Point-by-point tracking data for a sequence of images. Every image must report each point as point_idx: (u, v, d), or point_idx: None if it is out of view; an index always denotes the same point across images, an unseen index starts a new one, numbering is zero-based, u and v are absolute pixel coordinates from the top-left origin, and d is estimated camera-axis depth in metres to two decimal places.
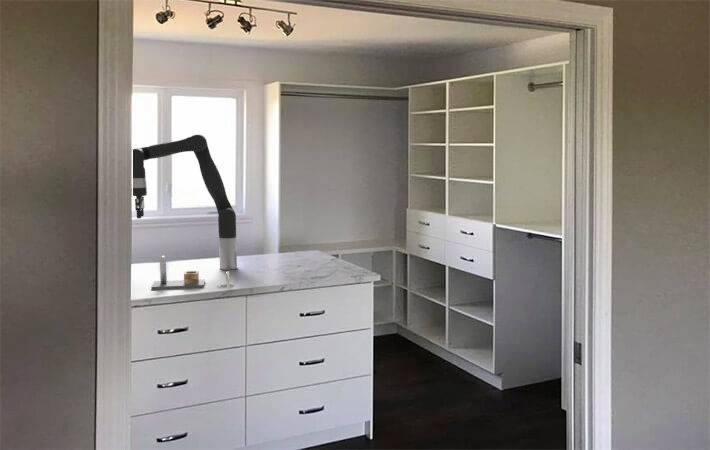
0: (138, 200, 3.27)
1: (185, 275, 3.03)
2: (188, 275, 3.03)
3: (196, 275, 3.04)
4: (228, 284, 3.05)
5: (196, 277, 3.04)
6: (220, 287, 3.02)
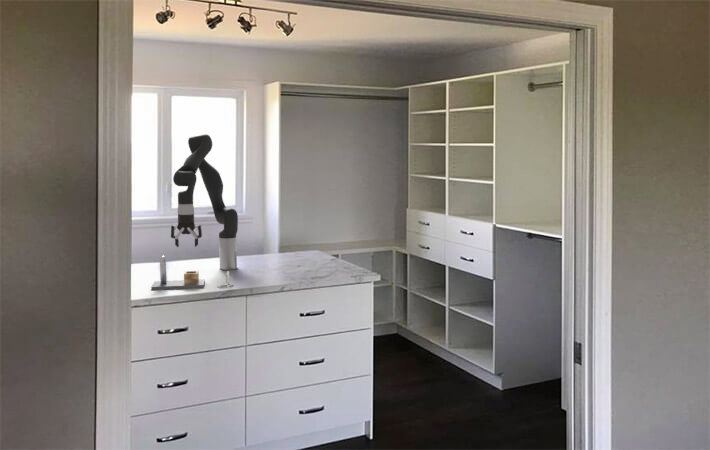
0: (200, 226, 3.06)
1: (185, 275, 3.03)
2: (188, 275, 3.03)
3: (196, 275, 3.04)
4: (228, 284, 3.05)
5: (196, 277, 3.04)
6: (220, 287, 3.02)
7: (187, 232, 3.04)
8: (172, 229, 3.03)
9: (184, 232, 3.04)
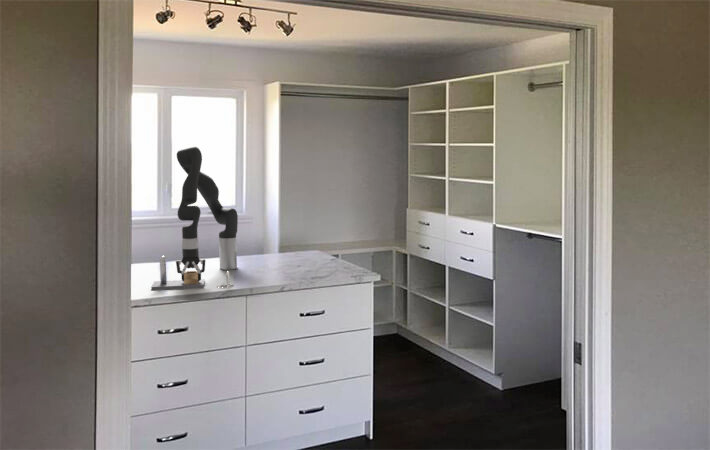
0: None
1: (185, 275, 3.03)
2: (188, 275, 3.03)
3: (196, 275, 3.04)
4: (228, 284, 3.05)
5: (196, 277, 3.04)
6: (220, 287, 3.02)
7: (191, 266, 3.05)
8: (177, 264, 3.04)
9: (189, 266, 3.05)
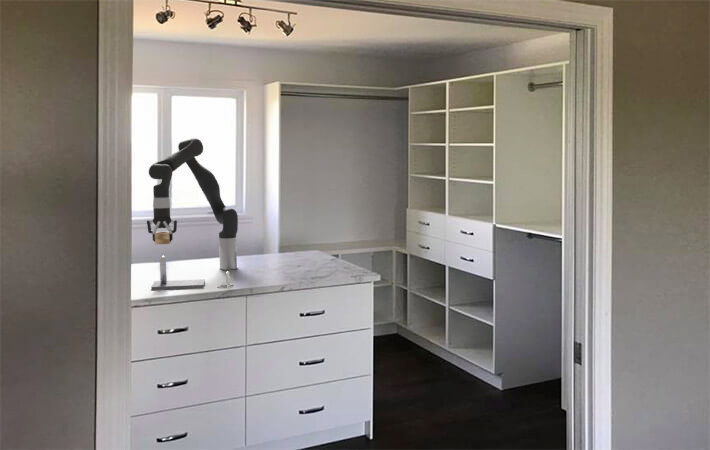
0: None
1: (156, 235, 2.98)
2: (159, 235, 2.98)
3: (167, 235, 2.99)
4: (228, 284, 3.05)
5: (167, 237, 2.99)
6: (220, 287, 3.02)
7: (162, 226, 3.00)
8: (148, 224, 2.98)
9: (160, 226, 3.00)
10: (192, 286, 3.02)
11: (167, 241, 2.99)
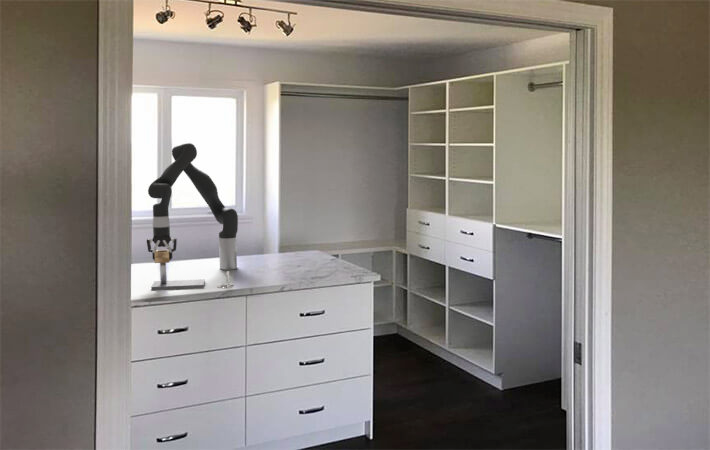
0: (176, 240, 3.04)
1: (156, 254, 2.99)
2: (159, 254, 2.99)
3: (167, 254, 3.00)
4: (228, 284, 3.05)
5: (167, 256, 3.00)
6: (220, 287, 3.02)
7: (162, 244, 3.01)
8: (148, 243, 3.00)
9: (160, 245, 3.01)
10: (192, 286, 3.02)
11: (167, 260, 3.00)
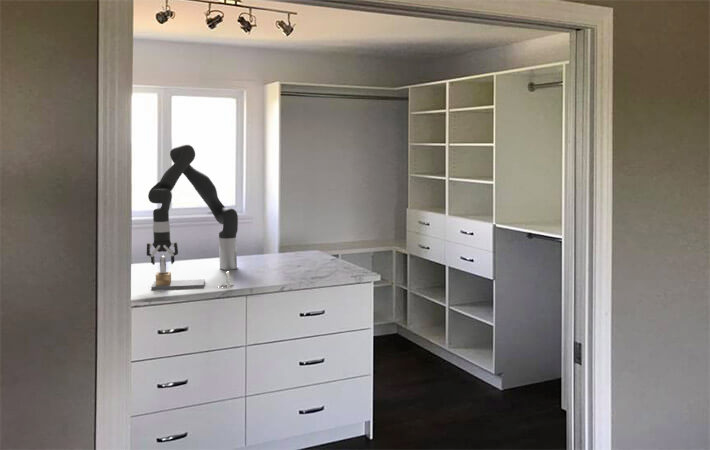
0: None
1: (157, 276, 3.01)
2: (160, 276, 3.01)
3: (168, 276, 3.02)
4: (228, 284, 3.05)
5: (168, 278, 3.02)
6: (220, 287, 3.02)
7: (163, 249, 3.02)
8: (148, 247, 3.00)
9: (160, 250, 3.01)
10: (192, 286, 3.02)
11: (168, 282, 3.02)
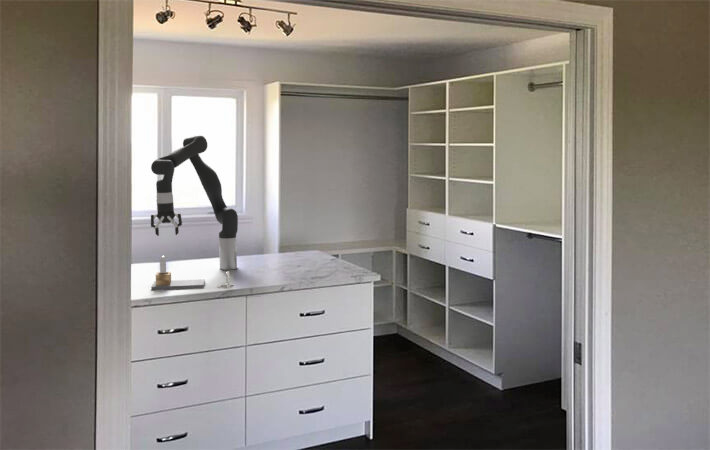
0: (180, 214, 3.06)
1: (157, 276, 3.01)
2: (160, 276, 3.01)
3: (168, 276, 3.02)
4: (228, 284, 3.05)
5: (168, 278, 3.02)
6: (220, 287, 3.02)
7: (167, 221, 3.04)
8: (152, 218, 3.02)
9: (164, 221, 3.03)
10: (192, 286, 3.02)
11: (168, 282, 3.02)
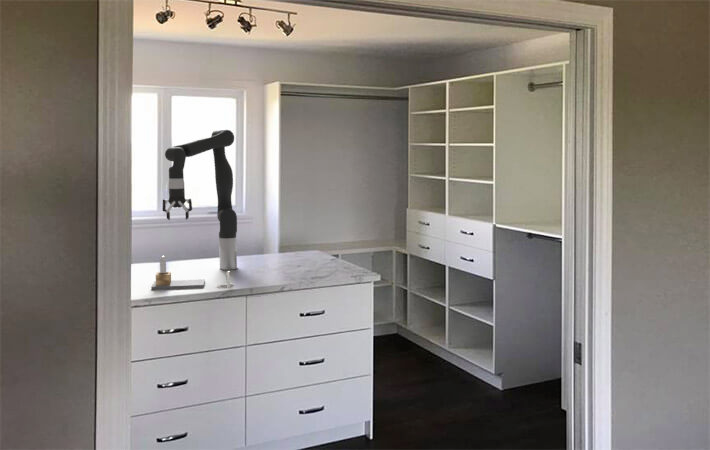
0: None
1: (157, 276, 3.01)
2: (160, 276, 3.01)
3: (168, 276, 3.02)
4: (228, 284, 3.05)
5: (168, 278, 3.02)
6: (220, 287, 3.02)
7: (178, 205, 3.18)
8: (163, 203, 3.16)
9: (175, 205, 3.17)
10: (192, 286, 3.02)
11: (168, 282, 3.02)
